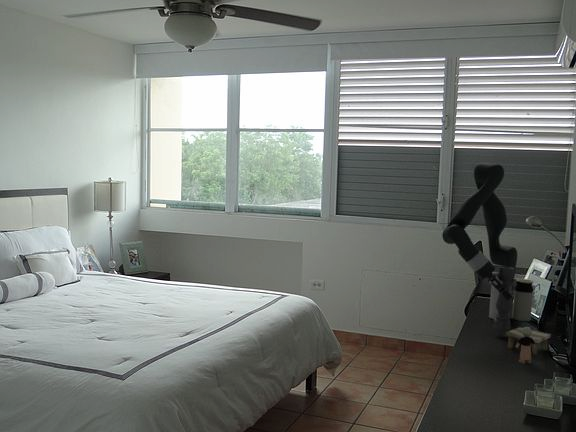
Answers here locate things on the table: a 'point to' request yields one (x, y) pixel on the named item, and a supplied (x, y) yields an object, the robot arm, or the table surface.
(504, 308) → the candle holder
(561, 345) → the table surface
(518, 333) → the beige toy table
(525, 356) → the grandmother figurine
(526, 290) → the travel mug
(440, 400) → the table surface
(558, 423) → the table surface
